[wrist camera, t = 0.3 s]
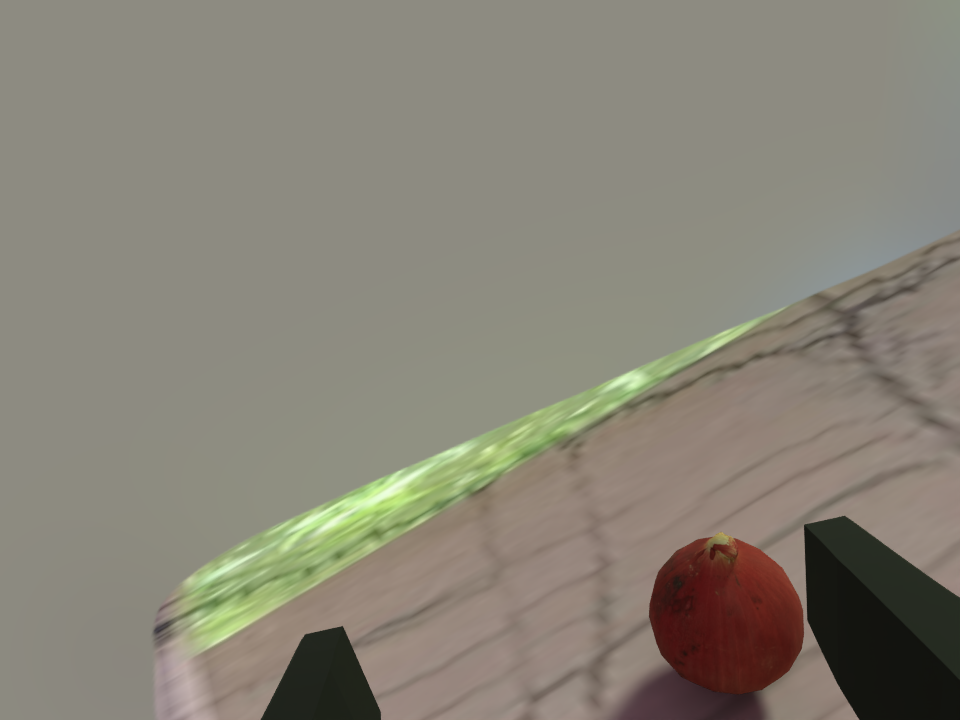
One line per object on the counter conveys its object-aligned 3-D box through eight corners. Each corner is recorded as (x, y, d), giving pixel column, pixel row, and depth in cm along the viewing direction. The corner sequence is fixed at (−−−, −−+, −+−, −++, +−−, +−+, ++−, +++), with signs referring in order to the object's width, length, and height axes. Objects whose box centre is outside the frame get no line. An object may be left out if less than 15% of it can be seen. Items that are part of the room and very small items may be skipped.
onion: (681, 749, 30) (658, 616, 26) (646, 630, 35) (622, 503, 31) (829, 720, 30) (829, 581, 26) (772, 604, 35) (765, 472, 31)
